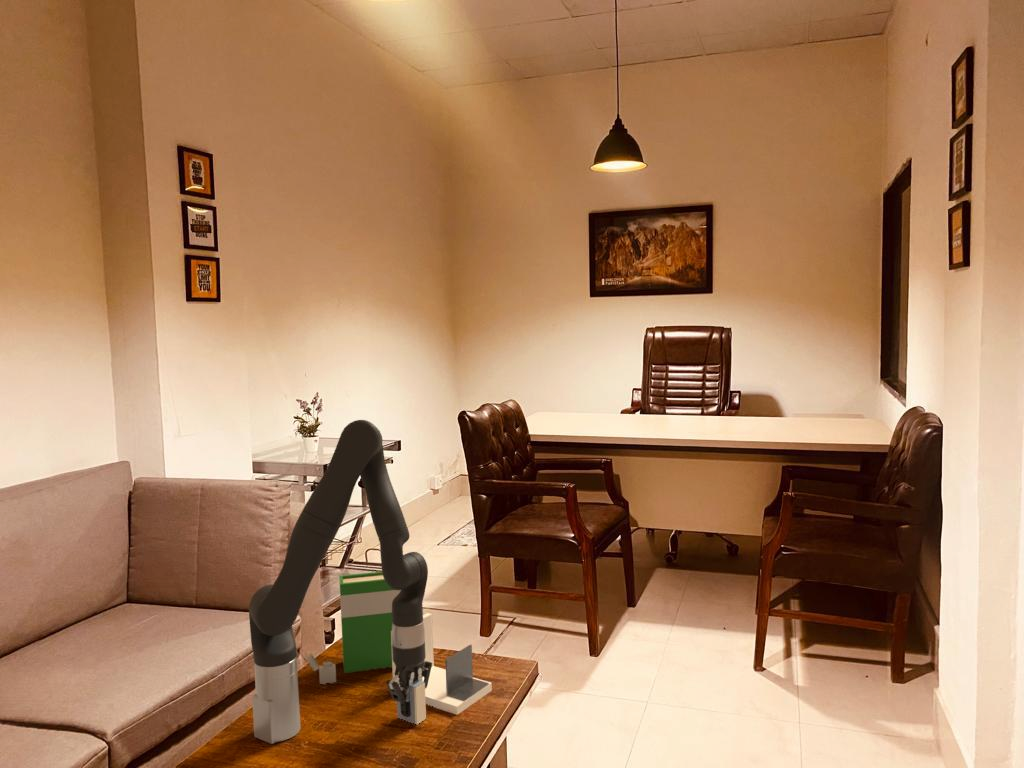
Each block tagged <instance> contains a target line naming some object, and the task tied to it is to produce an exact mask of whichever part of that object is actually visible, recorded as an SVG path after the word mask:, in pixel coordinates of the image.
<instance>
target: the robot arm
mask: <svg viewBox="0 0 1024 768" xmlns="http://www.w3.org/2000/svg"><path fill="white" fill-rule="evenodd" d="M383 446H384V445H383V436H382V433H381V431H380V430H379V428H378V427H377V426H376V425H375V424H374V423H373V422H371V421H369V420H365V419H357V420H354V421H351V422H350V423H347V425H346V426H345V427H344V428H343V430H341V433H340V435H339V438H338V441H337V444H336V446H335V448H334V452H333V455H332V456H331V459H330V461H329V464H328V466H327V468H326V470H325V472H324V473H323V475H322V477H321V479H320V480H319V481H318V483H317V485H316V486H315V487H314V490H313V491H312V493H311V494H310V496H309V499H308V500H307V501H306V504H305V505H304V507H303V509H302V510H301V512H300V514H299V516H298V518H297V520H296V522H295V524H294V527H293V529H292V532H291V534H290V538H289V542H288V545H287V549H286V554H285V558H284V562H283V565H282V568H281V570H280V572H279V575H277V577H276V580H275V581H274V583H273V584H267V585H264V586H262V587H260V588H259V589H258V590H256V591H255V592H254V594H253V595H252V596H251V599H250V602H249V606H248V607H249V608H248V617H249V629H250V630H249V631H250V643H251V649H252V653H253V663H254V664H253V665H254V682H255V685H254V686H255V694H254V695H252V697H251V701H252V702H251V703H252V716H253V717H252V719H253V736H254V737H255V738H257V739H259V740H261V741H264V742H266V743H268V744H271V745H274V744H275V743H279V742H282V741H287V740H288V739H291V738H293V737H294V736H297V734H298V733H299V732H300V731H301V714H300V711H301V710H300V694H299V679H298V677H299V675H298V657H297V656H298V655H297V643H296V640H295V637H294V636H295V635H294V630H293V625H294V623H295V622H296V619H297V617H298V616H299V612H300V610H301V607H302V605H303V603H304V600H305V596H306V594H307V591H308V589H309V587H310V585H311V583H312V580H313V578H314V577H315V574H317V571H318V569H319V567H320V566H321V564H322V561H323V560H324V559H325V557H326V554H327V552H328V550H329V548H330V546H331V545H332V543H333V541H334V539H335V537H336V536H337V534H338V532H339V530H340V528H341V525H342V524H343V521H344V519H345V516H346V513H347V511H348V509H349V505H350V501H351V498H352V494H353V492H354V489H355V486H356V484H357V482H358V479H360V478H361V481H362V485H363V487H364V491H365V496H366V500H367V503H368V508H369V513H370V516H371V519H372V523H373V526H374V529H375V532H376V536H377V537H378V538H377V539H378V541H379V549H380V553H379V554H380V563H381V564H380V566H381V571H382V573H383V577H384V579H385V581H386V583H387V584H388V585H389V586H390V587H391V588H392V589H394V590H401V591H400V593H399V594H398V595H397V596H396V597H395V598H394V599H393V601H392V652H393V662H394V663H395V665H396V670H395V676H394V678H393V677H392V679H388V680H387V681H386V685H387V688H388V691H389V694H390V695H391V697H392V698H391V699H393V701H395V702H397V701H398V702H400V706H401V714H402V715H403V716H405V717H409V716H410V715H411V711H410V691H412V685H413V683H414V682H415V681H422V677H424V683H425V689H426V688H427V685H428V680H429V676H430V671H431V667H432V663H431V662H428V661H424V660H425V657H426V655H425V630H424V624H423V615H424V612H423V611H424V609H423V601H424V598H425V594H426V593H425V592H426V587H427V584H428V583H427V581H428V577H429V569H428V563H427V561H426V559H425V558H424V556H423V555H422V554H421V553H419V552H417V551H410V552H407V553H405V554H404V550H403V549H404V544H405V543H407V542H408V541H409V540H410V531H409V528H408V525H407V523H406V518H405V517H404V513H403V510H402V508H401V506H400V502H399V500H398V497H397V495H396V492H395V490H394V486H393V485H392V482H391V478H390V475H389V471H388V469H387V464H386V459H385V453H384V447H383ZM403 685H405V686H407V687H405V686H403ZM404 691H405V695H404Z"/></svg>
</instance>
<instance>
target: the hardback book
mask: <svg viewBox="0 0 1024 768" xmlns="http://www.w3.org/2000/svg"><path fill="white" fill-rule="evenodd" d="M338 579H339V594H340V595H339V598H340V619H341V620H340V621H341V640H342V661H343V663H342V664H343V674H348V673H357V671H358V672H364V671H363V670H366V671H370V670H369V669H374V670H377V669H376V668H382V667H389V668H392V667H391V666H392V646H391V631H392V601H393V599H394V598H395V597H396V596H397V595H398V594H399V593H400V591H401V590H394V589H392V588H391V587H390V586H389V585H388V584H387V583H386V581H385V579H384V577H383V573H382V570H381V571H374V572H373V571H372V572H365V573H364V572H362V573H353V574H342V575H339V578H338ZM382 669H383V668H382Z"/></svg>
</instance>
